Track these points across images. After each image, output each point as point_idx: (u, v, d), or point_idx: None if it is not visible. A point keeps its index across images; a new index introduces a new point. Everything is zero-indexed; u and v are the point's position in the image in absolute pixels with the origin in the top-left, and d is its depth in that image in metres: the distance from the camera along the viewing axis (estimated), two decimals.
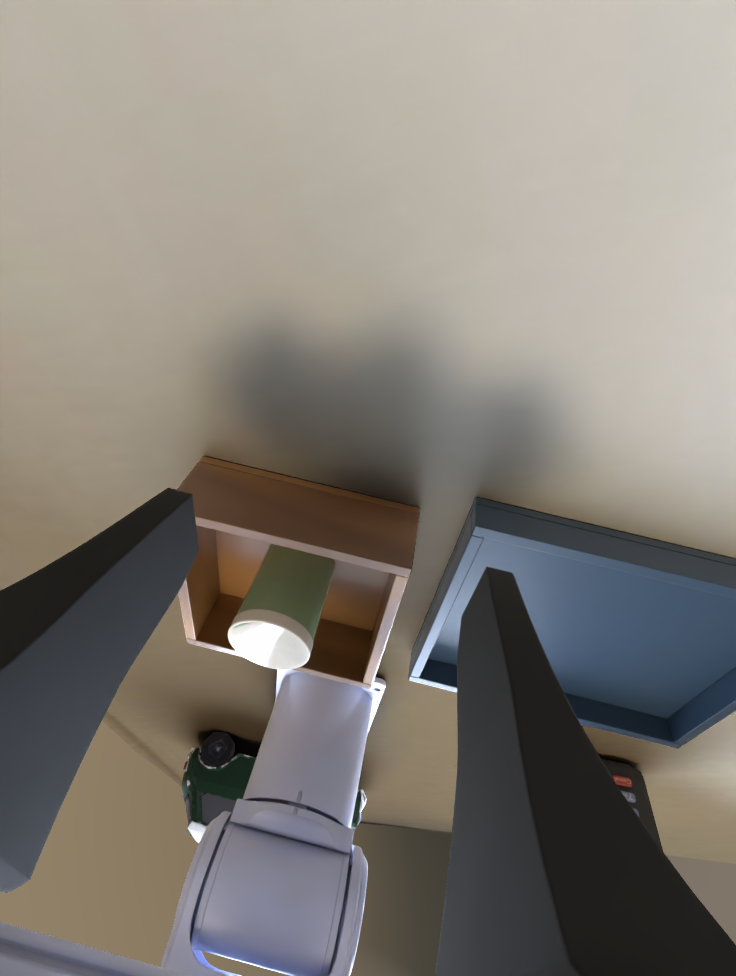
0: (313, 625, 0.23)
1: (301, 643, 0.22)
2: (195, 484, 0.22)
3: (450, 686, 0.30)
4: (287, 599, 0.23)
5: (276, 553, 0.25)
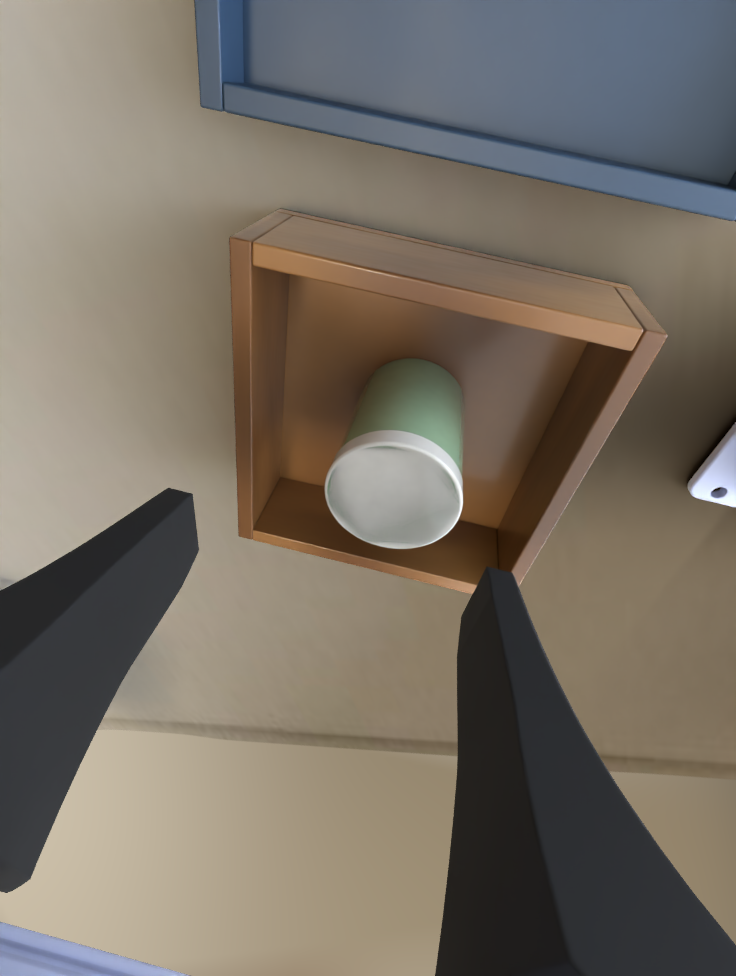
0: (381, 421, 0.14)
1: (365, 450, 0.13)
2: None
3: None
4: None
5: None
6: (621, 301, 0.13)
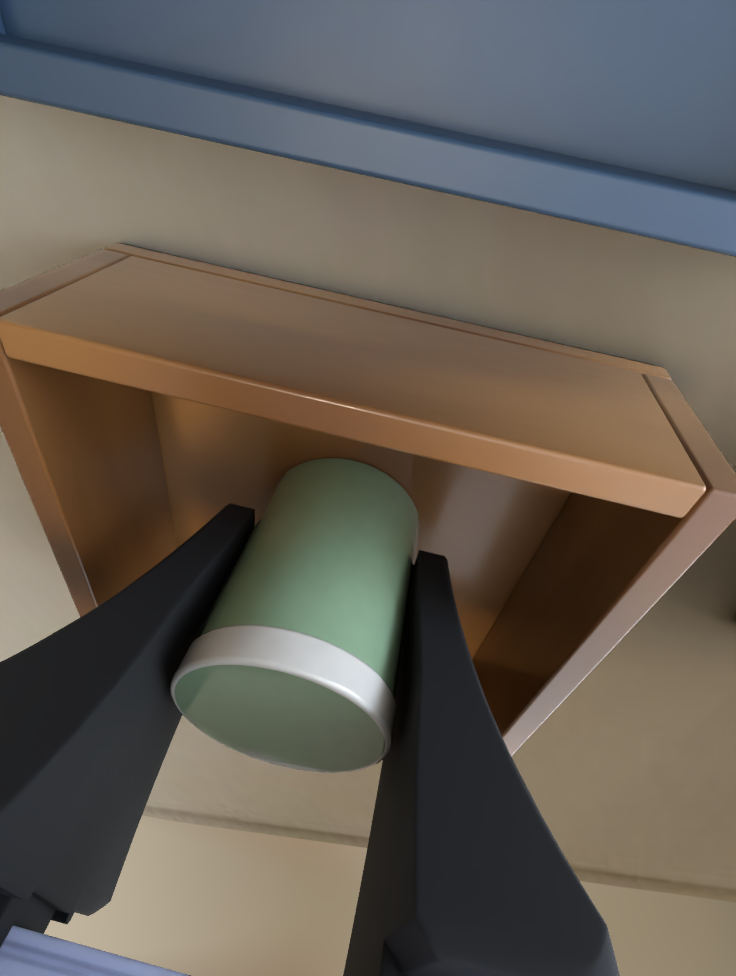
0: (258, 600, 0.08)
1: (218, 666, 0.08)
2: None
3: None
4: None
5: None
6: (657, 409, 0.08)
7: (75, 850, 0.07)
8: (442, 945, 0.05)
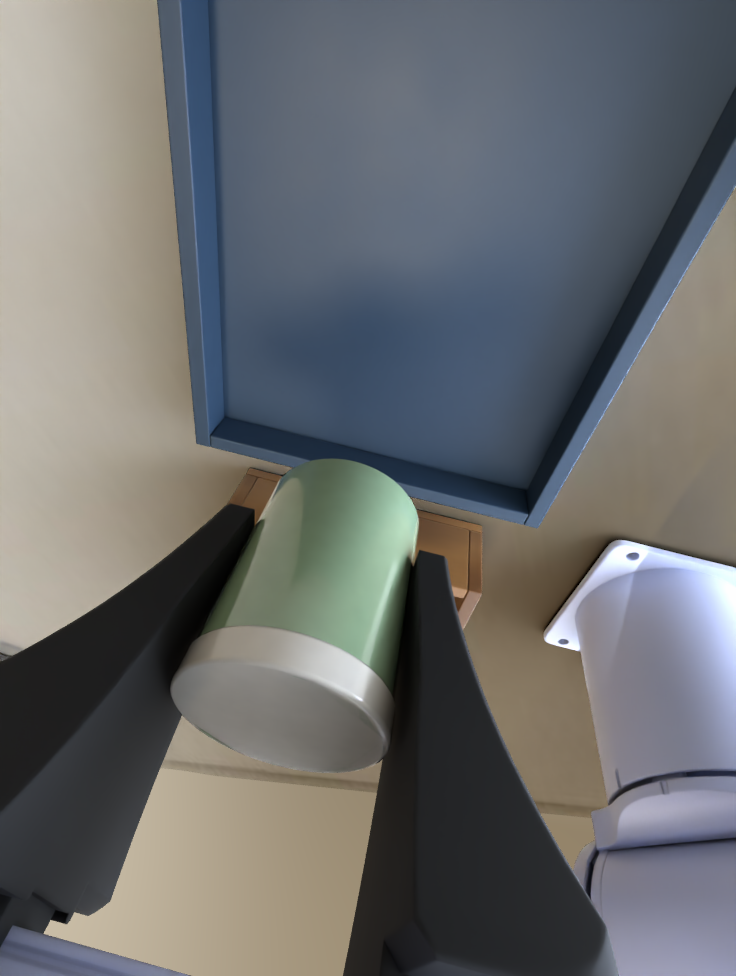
0: (258, 601, 0.08)
1: (218, 667, 0.08)
2: None
3: (552, 476, 0.17)
4: (208, 616, 0.09)
5: None
6: (466, 552, 0.20)
7: (75, 850, 0.07)
8: (441, 945, 0.05)
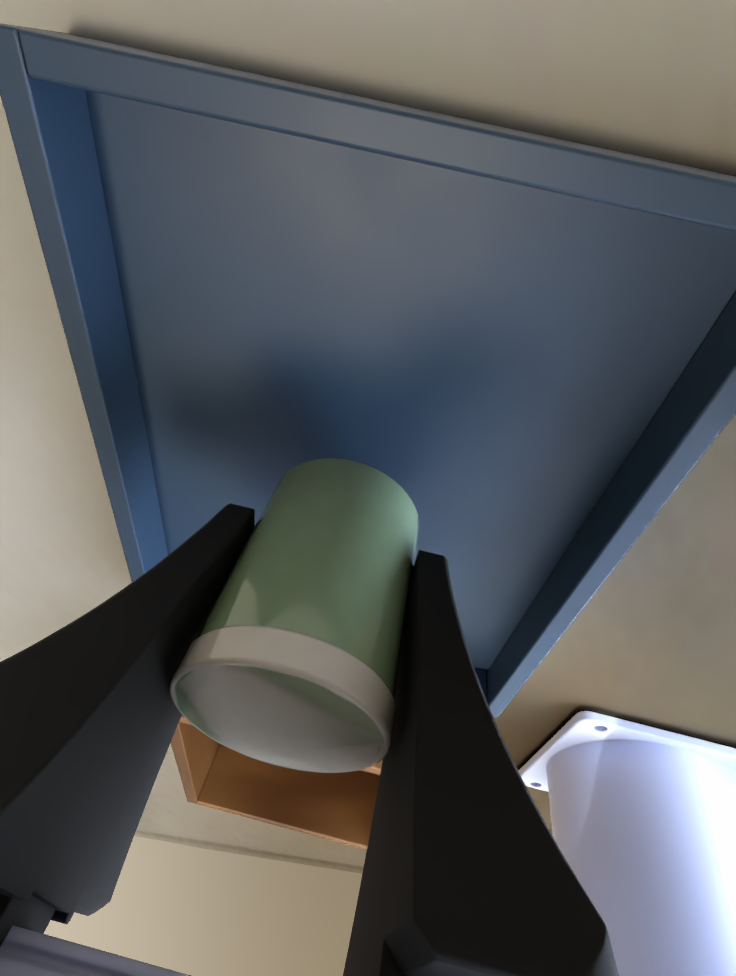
0: (258, 600, 0.08)
1: (218, 667, 0.08)
2: None
3: (508, 681, 0.16)
4: None
5: None
6: None
7: (74, 850, 0.07)
8: (441, 944, 0.05)
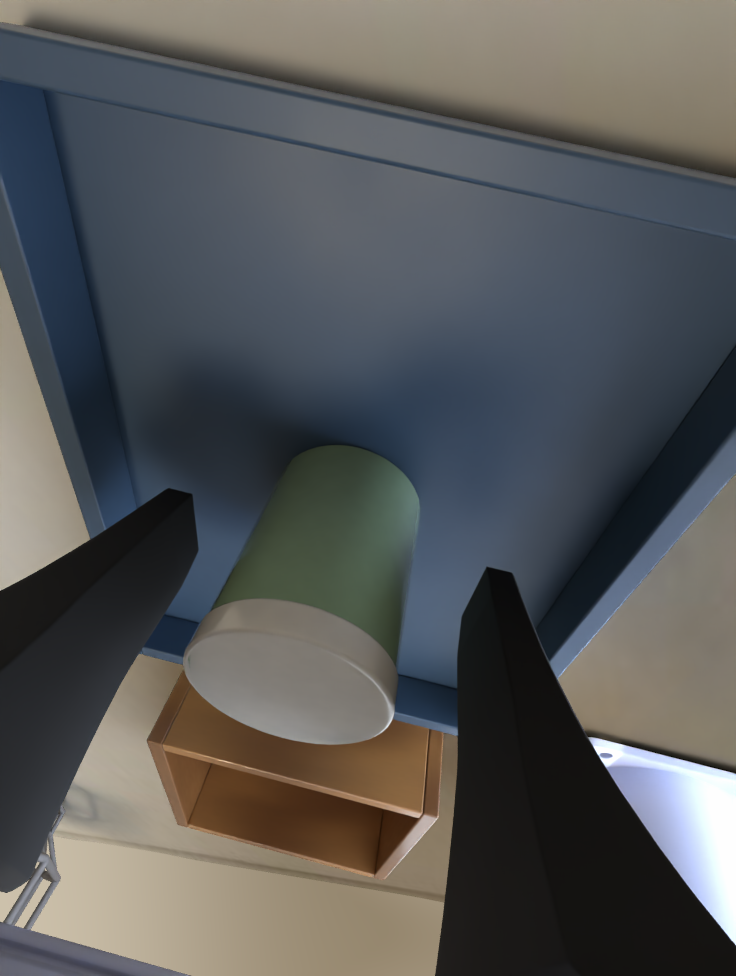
0: (268, 576, 0.09)
1: (230, 636, 0.08)
2: None
3: None
4: None
5: None
6: (424, 755, 0.19)
7: None
8: None
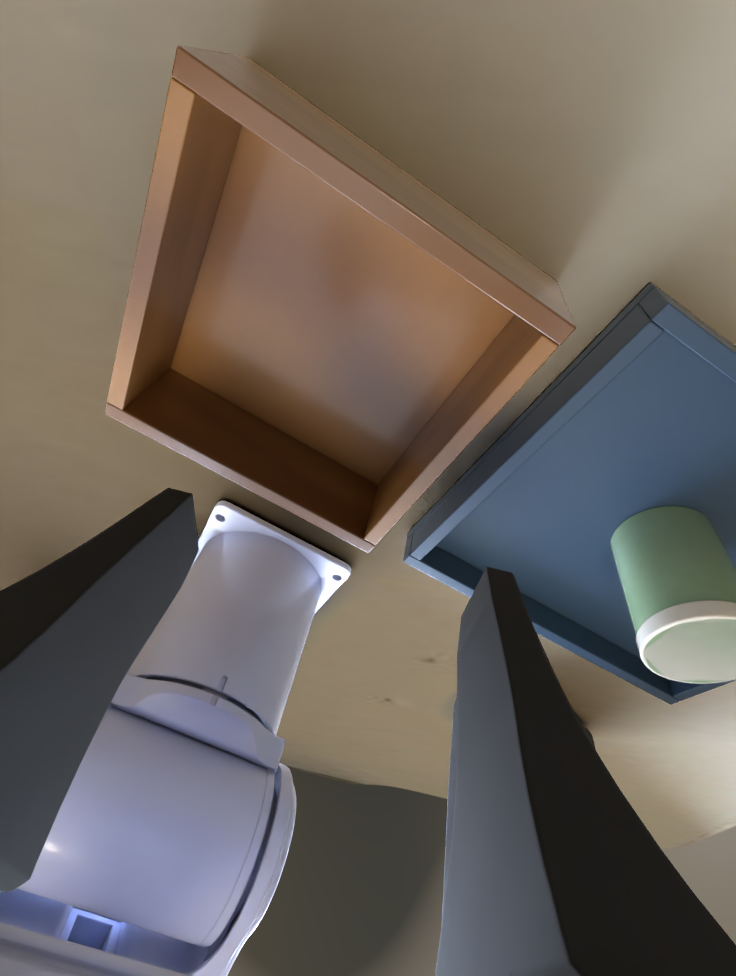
0: None
1: None
2: (236, 66, 0.12)
3: (455, 581, 0.22)
4: None
5: (688, 527, 0.18)
6: None
7: None
8: None
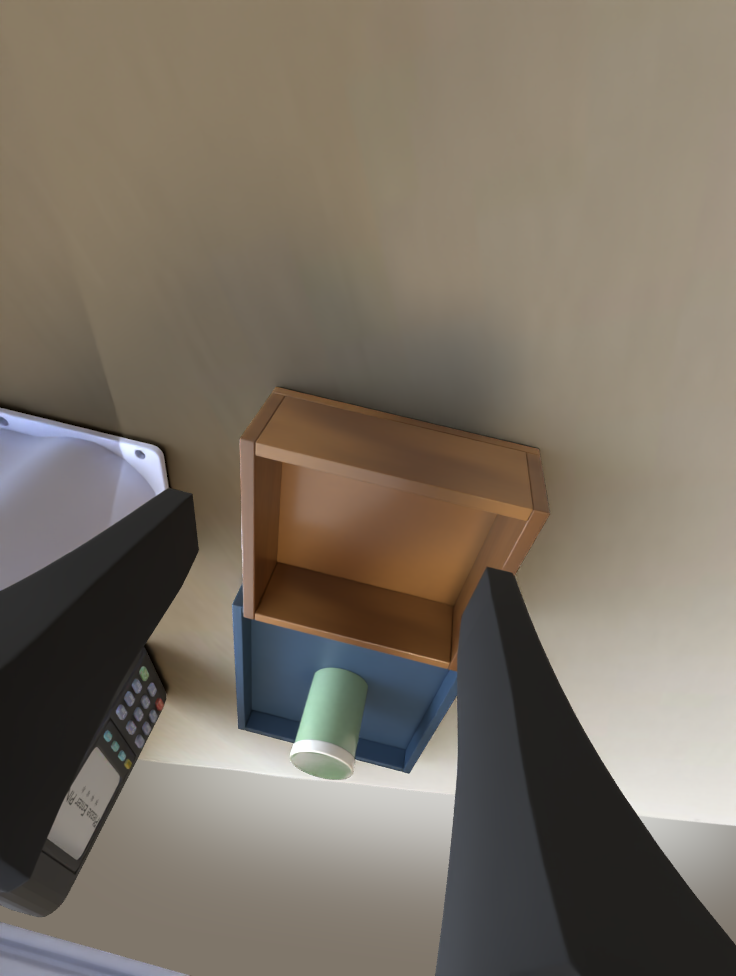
0: None
1: (334, 779, 0.30)
2: None
3: (241, 632, 0.29)
4: None
5: (362, 699, 0.32)
6: None
7: None
8: None
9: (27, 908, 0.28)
